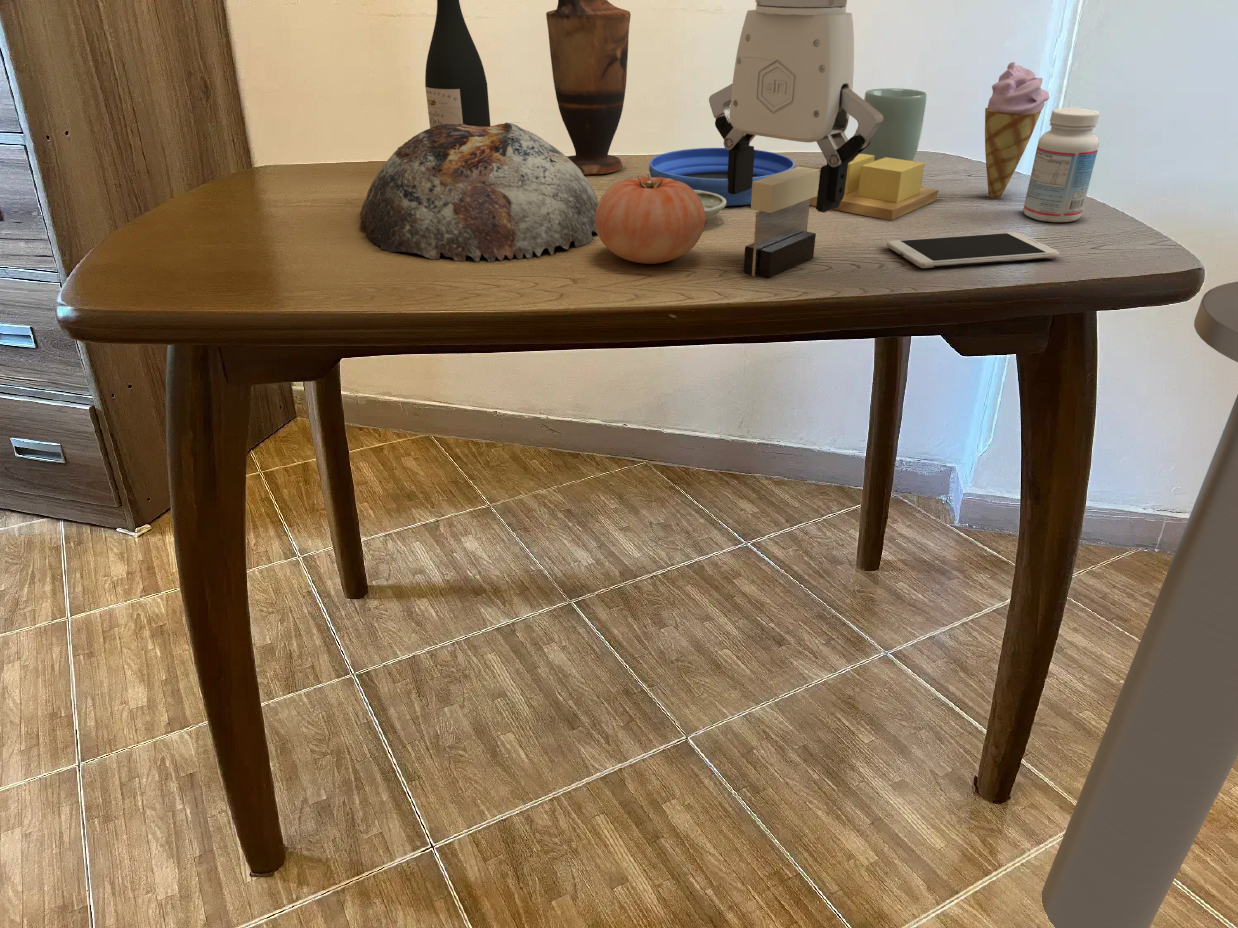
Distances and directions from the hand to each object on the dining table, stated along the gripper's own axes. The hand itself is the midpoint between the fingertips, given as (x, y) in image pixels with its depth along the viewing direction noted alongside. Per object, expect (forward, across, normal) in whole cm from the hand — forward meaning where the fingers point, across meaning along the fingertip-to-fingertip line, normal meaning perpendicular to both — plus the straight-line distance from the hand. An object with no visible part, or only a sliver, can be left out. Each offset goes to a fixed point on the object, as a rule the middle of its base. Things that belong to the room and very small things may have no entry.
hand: (782, 200), depth 82 cm
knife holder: (+6, 0, 0) cm, 6 cm away
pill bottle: (+6, +14, +35) cm, 38 cm away
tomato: (+7, -11, -6) cm, 14 cm away
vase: (+7, -43, +19) cm, 47 cm away
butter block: (+5, -2, +28) cm, 28 cm away
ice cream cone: (+6, +6, +40) cm, 41 cm away
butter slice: (+5, -7, +28) cm, 29 cm away
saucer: (+7, -17, +7) cm, 19 cm away
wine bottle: (+7, -54, +6) cm, 54 cm away
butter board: (+6, -4, +28) cm, 29 cm away
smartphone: (+6, +13, +15) cm, 21 cm away
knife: (+6, 0, 0) cm, 6 cm away
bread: (+7, -35, -7) cm, 36 cm away
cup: (+6, -11, +44) cm, 45 cm away
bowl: (+6, -22, +21) cm, 31 cm away
